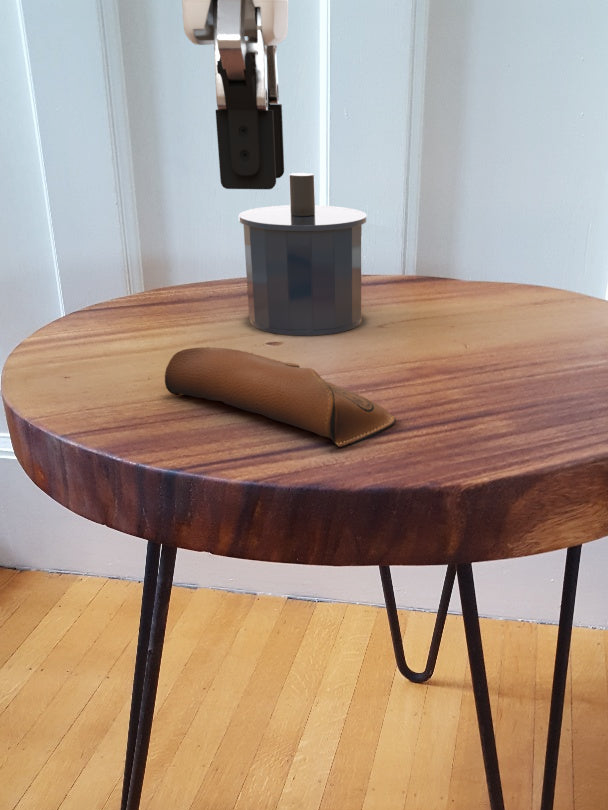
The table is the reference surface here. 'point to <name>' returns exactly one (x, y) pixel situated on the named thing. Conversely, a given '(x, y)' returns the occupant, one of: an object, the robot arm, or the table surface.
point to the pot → (304, 280)
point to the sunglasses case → (276, 392)
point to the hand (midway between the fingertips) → (253, 179)
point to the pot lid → (302, 211)
